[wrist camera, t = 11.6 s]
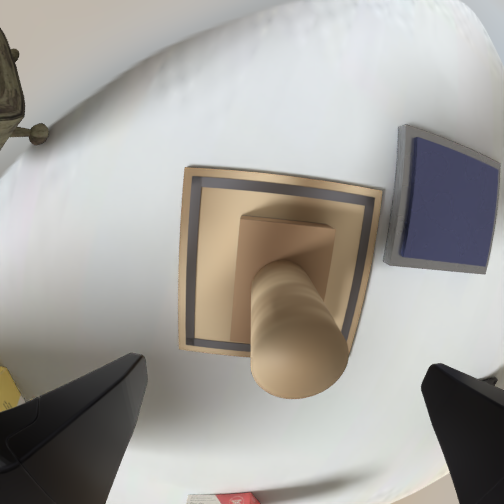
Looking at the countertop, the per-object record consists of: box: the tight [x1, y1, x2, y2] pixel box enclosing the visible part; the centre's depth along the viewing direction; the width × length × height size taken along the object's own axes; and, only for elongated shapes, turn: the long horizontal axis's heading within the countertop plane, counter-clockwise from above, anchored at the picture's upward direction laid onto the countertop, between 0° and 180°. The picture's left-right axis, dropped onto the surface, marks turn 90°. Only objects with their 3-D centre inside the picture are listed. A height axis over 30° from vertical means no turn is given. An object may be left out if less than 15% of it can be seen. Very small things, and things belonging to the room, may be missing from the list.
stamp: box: [230, 215, 349, 399], centre depth 13 cm, size 5×7×9 cm
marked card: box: [178, 167, 382, 357], centre depth 17 cm, size 12×12×1 cm
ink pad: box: [383, 124, 500, 274], centre depth 16 cm, size 10×9×1 cm
